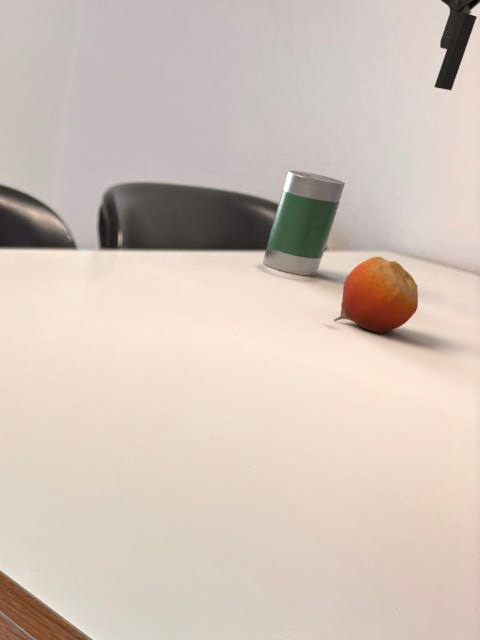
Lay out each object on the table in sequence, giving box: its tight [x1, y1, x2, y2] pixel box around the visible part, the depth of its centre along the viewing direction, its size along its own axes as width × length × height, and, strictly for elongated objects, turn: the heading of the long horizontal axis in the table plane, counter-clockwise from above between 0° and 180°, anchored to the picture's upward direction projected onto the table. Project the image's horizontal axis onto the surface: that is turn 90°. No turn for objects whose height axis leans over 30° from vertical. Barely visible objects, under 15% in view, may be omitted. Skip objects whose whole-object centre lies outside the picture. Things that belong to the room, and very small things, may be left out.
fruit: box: [333, 256, 419, 335], centre depth 113 cm, size 8×8×8 cm
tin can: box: [262, 170, 346, 277], centre depth 135 cm, size 7×7×11 cm
